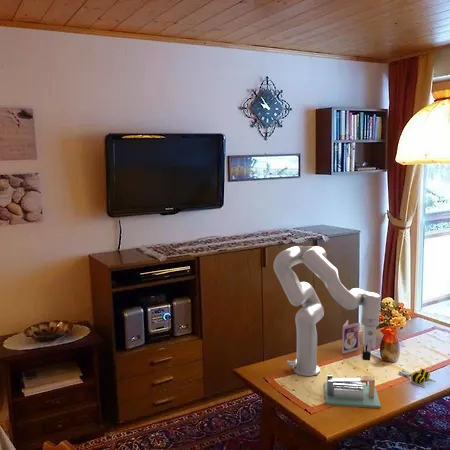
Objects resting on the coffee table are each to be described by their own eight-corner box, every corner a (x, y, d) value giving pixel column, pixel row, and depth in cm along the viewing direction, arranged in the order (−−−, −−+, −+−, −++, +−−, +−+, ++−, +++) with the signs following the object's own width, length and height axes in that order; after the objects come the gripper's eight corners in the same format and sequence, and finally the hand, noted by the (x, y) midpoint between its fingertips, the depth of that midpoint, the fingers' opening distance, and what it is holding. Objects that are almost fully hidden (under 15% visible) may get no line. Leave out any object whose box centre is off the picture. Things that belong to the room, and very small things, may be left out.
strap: (329, 385, 215) (328, 380, 215) (328, 382, 218) (328, 377, 218) (367, 385, 213) (367, 380, 212) (366, 382, 216) (366, 377, 215)
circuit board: (325, 404, 209) (325, 402, 209) (324, 384, 227) (324, 382, 226) (380, 408, 206) (380, 405, 205) (374, 387, 223) (374, 385, 223)
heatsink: (327, 397, 213) (328, 383, 212) (327, 386, 222) (327, 372, 221) (363, 399, 210) (363, 385, 209) (360, 388, 220) (361, 374, 219)
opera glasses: (420, 387, 224) (422, 377, 223) (409, 381, 228) (411, 371, 226) (429, 380, 231) (432, 371, 229) (419, 374, 234) (421, 365, 233)
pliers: (423, 385, 222) (394, 373, 234) (423, 388, 222) (394, 376, 234) (435, 378, 228) (406, 367, 240) (435, 382, 228) (406, 370, 240)
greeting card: (343, 354, 259) (343, 326, 256) (333, 349, 265) (334, 322, 263) (360, 350, 264) (360, 322, 262) (350, 345, 270) (351, 318, 268)
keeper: (360, 396, 213) (361, 379, 212) (359, 391, 217) (360, 375, 216) (374, 397, 212) (374, 380, 211) (372, 392, 216) (373, 376, 215)
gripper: (380, 327, 213) (376, 368, 216) (376, 315, 227) (372, 353, 231) (362, 326, 214) (358, 366, 217) (359, 313, 228) (356, 351, 232)
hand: (366, 359), depth 224 cm, fingers closed
